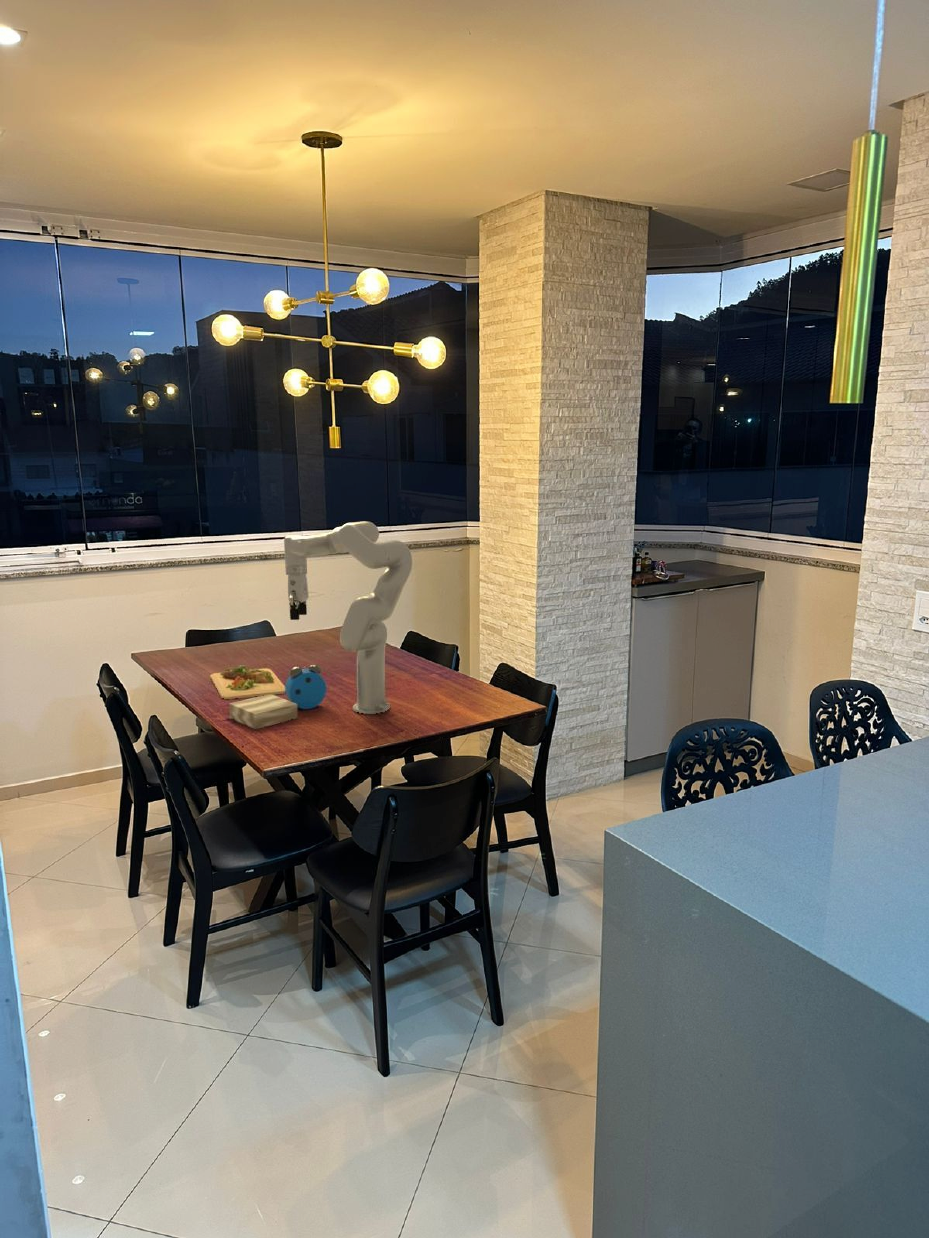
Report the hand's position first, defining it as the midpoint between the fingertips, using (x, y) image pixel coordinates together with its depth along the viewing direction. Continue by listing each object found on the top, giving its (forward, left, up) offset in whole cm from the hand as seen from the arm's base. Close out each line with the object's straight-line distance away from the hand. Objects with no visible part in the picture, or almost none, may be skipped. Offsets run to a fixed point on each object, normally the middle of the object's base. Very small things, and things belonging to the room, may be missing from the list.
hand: (298, 617), depth 307 cm
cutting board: (+24, +8, -29) cm, 39 cm away
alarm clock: (-16, +9, -29) cm, 34 cm away
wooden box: (-16, +26, -28) cm, 41 cm away
